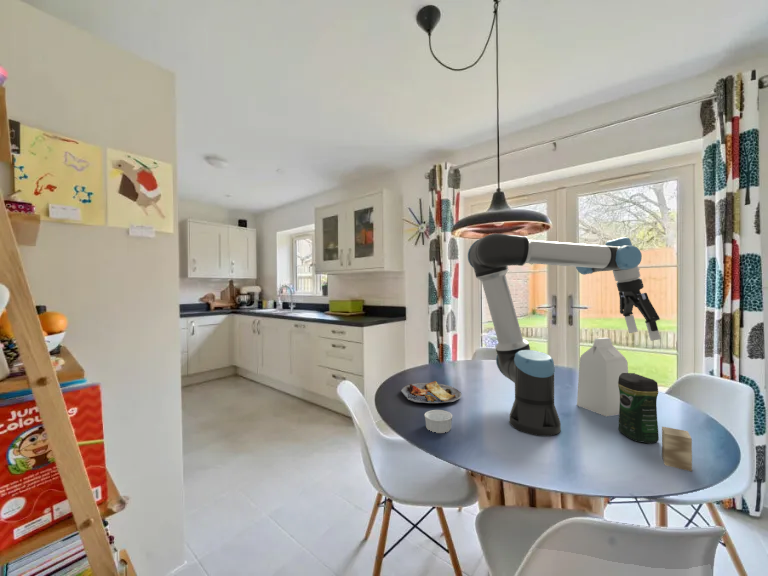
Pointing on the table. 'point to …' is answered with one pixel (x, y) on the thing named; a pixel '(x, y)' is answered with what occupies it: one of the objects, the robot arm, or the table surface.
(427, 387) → the food plate
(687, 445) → the beech block
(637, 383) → the coffee jar
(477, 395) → the table surface
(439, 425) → the ramekin
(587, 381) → the milk
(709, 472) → the table surface
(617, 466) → the table surface
